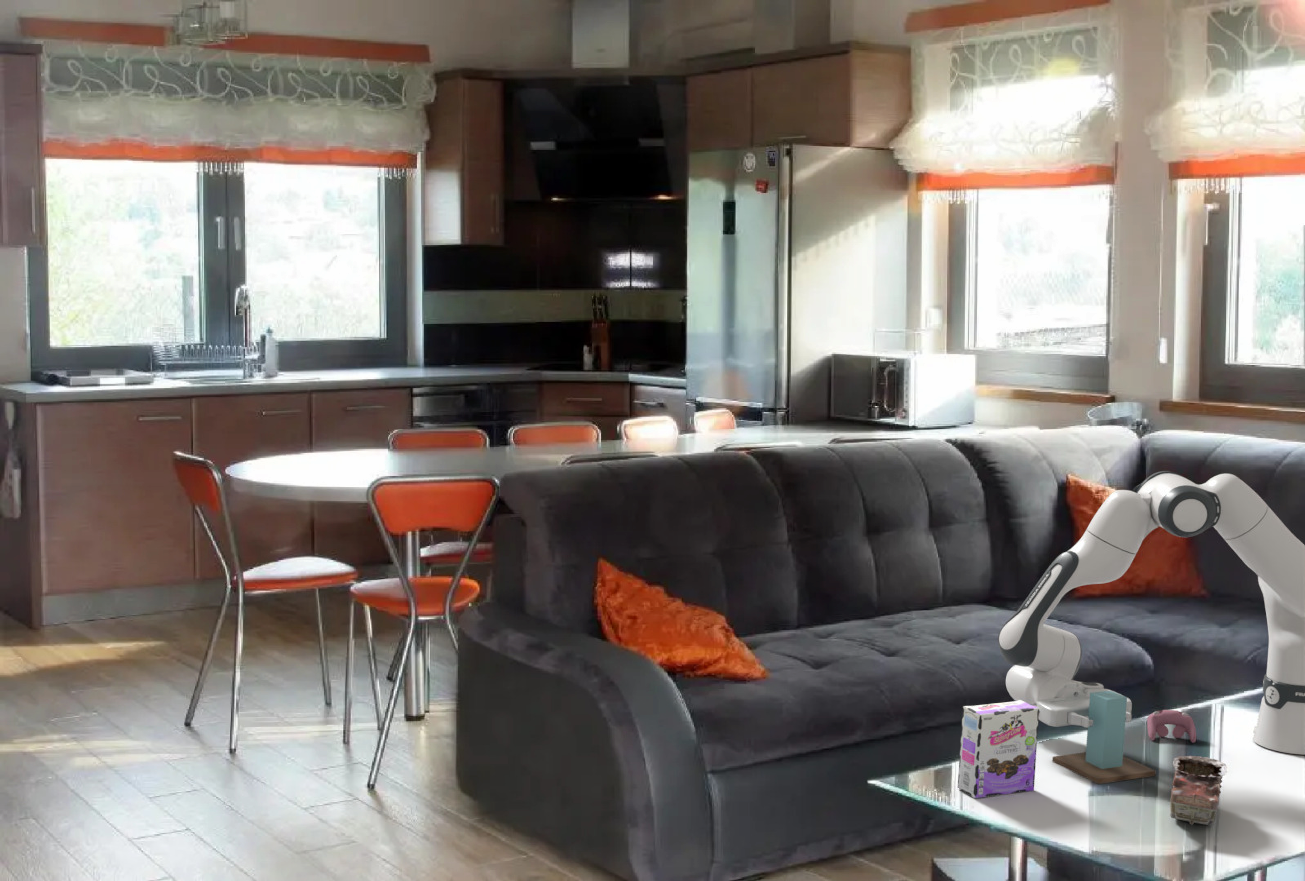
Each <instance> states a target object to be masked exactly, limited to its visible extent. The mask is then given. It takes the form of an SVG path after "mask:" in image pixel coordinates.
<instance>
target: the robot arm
mask: <svg viewBox="0 0 1305 881" xmlns="http://www.w3.org/2000/svg"><path fill="white" fill-rule="evenodd" d="M1159 527H1160V528H1162V529H1164V531H1166V532H1168V533H1169V534H1171V535H1173V536H1176V537H1179V538H1193V537H1195V536H1198V535H1199V534H1202V533H1203V532H1205V531H1206V530H1208V529H1210V528H1212V527H1213V528H1214V529H1215V530H1216V531H1217V533H1218V535H1220V536H1221V537H1222V539H1223V540H1224V541H1225V542H1226V543H1227V545H1228V546H1229V547H1230V548H1231V549H1232V551H1234V553H1235V554H1236V555H1237V556H1238V557H1239V558H1240V560H1242V562H1243V563H1244V564H1245V566H1247V567H1248V568H1249V569H1250V570H1252V572H1254V573H1255V574H1256V576H1257V581H1258V585H1259V588H1260V590H1261V593H1262V596H1263V601H1264V608H1265V613H1266V615H1265V616H1266V622H1267V632H1268V650H1267V664H1266V673H1265V674H1264V676H1263V679H1262V680H1263V682H1262V685H1263V686H1262V692H1263V697H1262V698H1261V703H1260V707H1259V712H1258V718H1257V723H1256V726H1254V727H1253V733H1254V734H1253V737H1252V741H1253V742H1254V743H1256V744H1257V745H1258V746H1261V747H1263V748H1266V749H1269V750H1271V751H1277V752H1281V753H1287V754H1292V755H1293V754H1294V755H1303V756H1304V755H1305V544H1304V543H1303V542H1302V541H1301V540H1300V539H1299V538H1297V537H1296V536H1295V534H1294V533H1292V532H1291V530H1290V529H1289V528H1288V527H1287V526H1286V525H1285V524H1284V522H1283V521H1282V520H1281V519H1280V518H1279V517H1278V516H1277V514H1276V513H1275V512H1274V511H1273V510H1272V509H1271V508H1270V506H1269V505H1268V504H1267V503H1266V502H1265V500H1264V499H1262V497H1261V496H1260V495H1259V493H1257V492H1255V490H1254V489H1252V488H1251V486H1249V485H1248V484H1247V483H1246V482H1244V481H1243V480H1242V479H1240V477H1238V476H1237V475H1235V474H1232V473H1220V474H1217V475H1215V476H1213V477H1211V478H1209V479H1208V480H1207V481H1206V482H1204V483H1202V484H1197V483H1195V482H1193V481H1192V480H1190V479H1188V478H1186V477H1184V476H1183V475H1181V474H1179V473H1177V472H1174V471H1169V470H1163V471H1158V472H1155V473H1153V474H1150V476H1148V477H1146V478H1145V479H1144V480H1143V481H1142V482H1141V483H1140V484H1138V485H1136V486H1135V487H1134V488H1133V489H1132V490H1129V489H1128V490H1127V489H1118V490H1115V491H1113V492H1112V493H1110V494H1109V495H1108V496H1107V498H1106V499H1105V501H1104V502H1103V503H1102V504H1101V506H1100V507H1099V508H1098V510H1097V511H1096V513H1095V514H1094V515H1093V517H1092V518H1091V521H1090V522H1089V524H1088V526H1087V528H1086V529H1085V531H1084V533H1083V535H1082V536H1081V538H1080V539H1079V540H1078V541H1077V542H1076V543H1075V544H1074V545H1073V546H1072V547H1071V548H1070V549H1068V550H1067V551H1065V552H1062V553H1061V554H1059V555H1058V556H1057V557H1056V558H1055V559H1054V560H1053V561H1052V562H1051V564H1050V565H1049V566H1048V568H1047V569H1046V570H1045V571H1044V573H1043V575H1042V576H1041V577H1040V579H1039V580H1038V581H1037V583H1036V584H1035V586H1033V589H1032V590H1031V591H1030V593H1029V594H1028V596H1027V597H1026V598H1025V600H1024V601H1023V602H1022V604H1021V605H1020V607H1019V608H1018V609H1017V611H1016V612H1015V613H1014V614H1012V616H1011V617H1010V618H1008V619H1007V621H1006V622H1005V623H1004V624H1003V625H1002V627H1001V629H1000V631H999V633H998V638H997V640H998V641H997V643H998V648H999V651H1000V654H1001V656H1002V657H1003V659H1004V660H1005V662H1006V663H1008V664H1010V665H1012V666H1011V668H1010V669H1009V670H1008V671H1007V673H1006V677H1005V686H1006V690H1007V692H1008V693H1009V696H1010V697H1011V698H1012V699H1013V701H1018V700H1022V701H1024V702H1026V703H1029V704H1031V705H1033V706H1035V707H1037V708H1039V717H1038V721H1040V722H1042V723H1044V724H1045V725H1046V726H1049V727H1054V728H1055V727H1056V728H1059V727H1060V728H1061V727H1066V726H1081V727H1084V728H1087V729H1088V727H1093V718H1090V717H1088V716H1089V701H1090V693H1093V692H1102V691H1113V692H1115V693H1118V694H1120V695H1122V694H1121V693H1119V692H1116V691H1115V690H1111V689H1108V688H1104V685H1103V684H1102V683H1099V682H1087V681H1086V682H1084V681H1077V680H1074V678H1075V676H1076V675H1077V673H1078V672H1079V669H1080V666H1081V662H1082V659H1083V658H1082V657H1083V650H1082V644H1081V642H1080V639H1079V638H1078V637H1077V635H1076V634H1075V633H1073V632H1070V631H1068V630H1064V629H1062V628H1058V627H1056V626H1052V625H1048V624H1045V622H1046V620H1048V618H1049V617H1050V616H1051V614H1052V613H1053V611H1054V610H1055V608H1056V607H1057V605H1058V604H1059V603H1060V601H1061V600H1062V598H1064V596H1065V595H1066V594H1067V593H1068V592H1069V591H1071V590H1073V589H1075V588H1078V587H1081V586H1082V587H1083V586H1087V585H1098V584H1099V585H1100V584H1101V585H1102V584H1106V583H1111V582H1114V581H1116V580H1118V579H1120V578H1121V577H1122V576H1124V575H1125V573H1126V572H1127V571H1128V569H1129V568H1130V567H1131V564H1132V563H1133V561H1134V559H1135V557H1136V555H1137V553H1138V551H1139V549H1140V547H1141V545H1142V543H1143V541H1144V540H1145V538H1146V537H1147V536H1148V535H1149V534H1150V533H1151V532H1152V531H1155V529H1158V528H1159ZM1122 696H1124V695H1122ZM1132 704H1133V703H1132V700H1131V699H1130V698H1129V697H1127V705H1126V720H1125V724H1126V723H1131V722H1132V707H1133V705H1132Z"/></svg>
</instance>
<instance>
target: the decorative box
mask: <svg viewBox="0 0 1305 881" xmlns="http://www.w3.org/2000/svg"><path fill="white" fill-rule="evenodd" d="M1172 766H1173V767H1174V770H1175V771H1174V775H1173V782H1172V789H1171V790H1170V791H1171V793H1170V800H1169V802H1170V818H1171V819H1175V820H1180V821H1185V822H1189V824H1190V825H1194V823H1195V824H1201V825H1206V826H1213V825H1214V823H1215V820H1216V815H1217V813H1218V810H1219V803H1220V795H1221V793H1222V791H1221V788H1222V787H1223V786H1222V783H1223V776H1225V775H1226V774H1227V772H1228V766H1227V764H1226V763H1224V762H1222V761H1220V760H1218V759H1215V758H1210V757H1206V756H1201V755H1200V756H1196V755H1186V756H1183V755H1181V756H1177V757H1174V759H1173V762H1172Z"/></svg>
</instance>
